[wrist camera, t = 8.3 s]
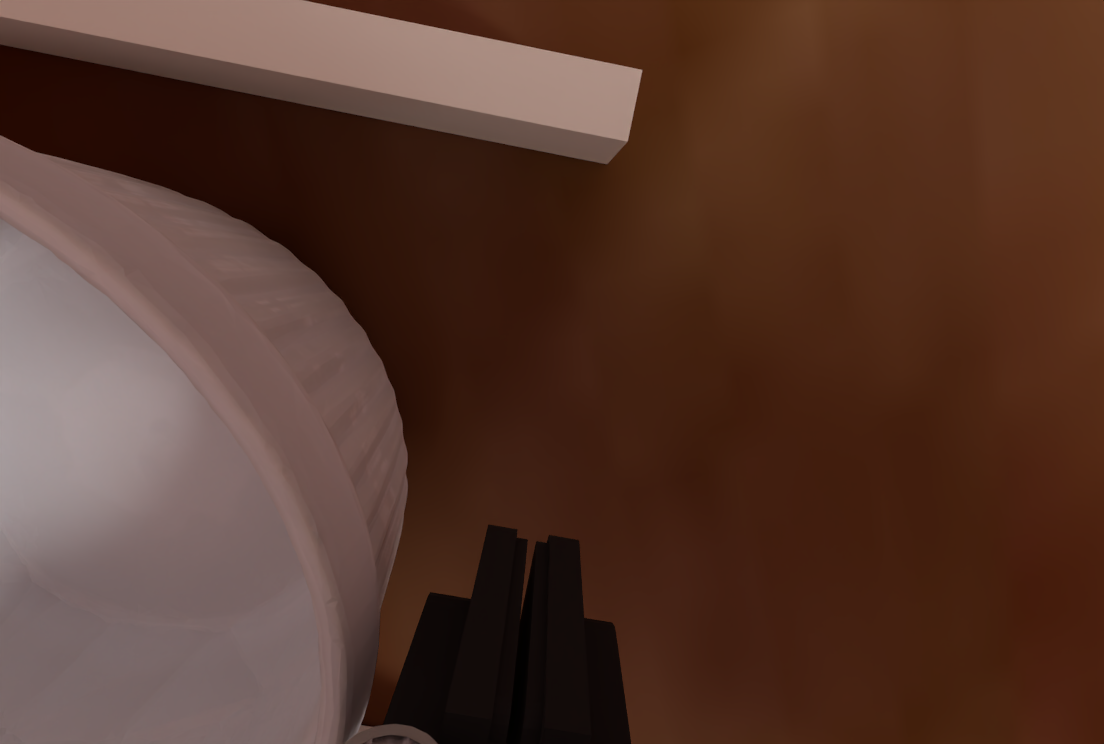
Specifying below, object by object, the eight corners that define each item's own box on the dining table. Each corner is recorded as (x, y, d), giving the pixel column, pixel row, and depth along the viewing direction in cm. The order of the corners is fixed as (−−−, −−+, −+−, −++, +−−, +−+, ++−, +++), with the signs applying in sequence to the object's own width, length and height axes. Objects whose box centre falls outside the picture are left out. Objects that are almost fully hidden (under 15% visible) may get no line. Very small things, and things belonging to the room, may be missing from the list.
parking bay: (616, 114, 12) (642, 69, 8) (486, 771, 16) (467, 915, 13) (-233, -57, 11) (-591, -184, 7) (-114, 681, 16) (-300, 809, 12)
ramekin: (508, 614, 15) (469, 941, 8) (55, 698, 16) (-323, 1056, 9) (356, 80, 11) (68, -122, 5) (-212, 223, 12) (-1146, 227, 6)
